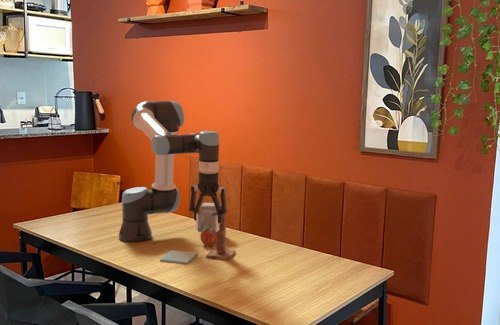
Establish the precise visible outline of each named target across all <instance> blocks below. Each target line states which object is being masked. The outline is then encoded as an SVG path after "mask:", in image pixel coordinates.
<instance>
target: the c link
mask: <svg viewBox="0 0 500 325" xmlns="http://www.w3.org/2000/svg"><path fill="white" fill-rule="evenodd" d="M204 215H206V216H213V219H212V228H211V229H210V233H216V232H215V225H216V215H217V211H208V210H201V209H199V211H198V230H197V232H198V233H201V232H204V231H205V230H206V227H203V221H204Z"/></svg>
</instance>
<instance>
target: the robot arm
mask: <svg viewBox="0 0 500 325" xmlns="http://www.w3.org/2000/svg"><path fill="white" fill-rule="evenodd" d="M184 114H185V113H184V109H183V107H182V105H181V104H180V103H179V102H178V101H175V100H152V101H151V100H146V101H145V100H144V101H142V102H139V103H138V104H136V105H135V107H133V109H132V111H131V114H130V120H131V122H132V124H133V126H134V127H135V128H136V129H137V130H140V131H142V132H143V133H144V135H146V136H147V138H149V141H150V142H151V143H150V144H151V150H152V152H153V154H155V167H154V171H155V172H154V182H152V183H151V189H148V188H147V187H145V186H140V187H139V186H137V187H132V188H128V189H126V190H124V191H123V192H122V195H121V211H122V212H121V214H122V216H121V217H122V224H121V225H120V229H119V231H118V232H119V233H118V239H119V240H120V241H122V242H127V243H139V242H145V241H148V240H150V239H151V238H152V237H153V234H152V233H153V232H152V230H151V226H150V224H149V220H148V219H149V217H148V216H150V215H157V214H169V213H172V212H175V211H176V210H178V208H179V206H180V202H181V195H180V189H178V187H177V185H176V184H175V183H174V169H175V168H174V166H175V155H181V154H182V155H183V154H198V184H197V185H195V184H194V185H192V186H190V192H191V194H190V202H189V211H190V212H193V220H194V222H196V224H195V225H196V226H195V227H196V228H195V229H196V231H198V212H199V211H200V210H201V205H202V204H203V201H204V197H207V196H208V197H210V198H211V200H212V203H214V205H215V208H216V211H217V215H216V225H215V232H218V231H219V223H221V222H222V214H225V213H226V214H227V212H228V210H227V209H228V208H227V200H226V192H227V187H221V186H220V185H219V171H220V170H219V161H220V160H219V156H220V135H219V133H218V132H217V131H213V130H202V131H200V132H191V133H187V134H183V133H182V134H178V132H180V128H181V127H182V126H184V123H185V115H184ZM198 190H199V192H200V193H199V197H198V199H197V201H196V198H197V191H198ZM218 191H219V193H220V195H219V196H220V197H219V198H220V201H219V199H218V194H217V192H218ZM220 204H221V207H222V210H221V207H220Z"/></svg>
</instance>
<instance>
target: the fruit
mask: <svg viewBox="0 0 500 325" xmlns="http://www.w3.org/2000/svg"><path fill="white" fill-rule="evenodd" d="M211 226H212V225H210V224H209V226H206V230H205V231H204V232H200V234H199V235H200V241H201V242H202V244H204V246H208V247H210V246H214V245H217V232H216V233H210V229H211Z"/></svg>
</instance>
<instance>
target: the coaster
mask: <svg viewBox="0 0 500 325" xmlns="http://www.w3.org/2000/svg"><path fill="white" fill-rule="evenodd" d="M196 256H198V252H193V251H184V250H183V251H182V250H172V249H171V250H170V251H168V252H166V253H165V254H164V255H163V256H162V257H160V258H159V261H160V262H165V263H174V264H185V265H188V264H189V263H190V262H191V261H192V260H193V259H194V258H196Z"/></svg>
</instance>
